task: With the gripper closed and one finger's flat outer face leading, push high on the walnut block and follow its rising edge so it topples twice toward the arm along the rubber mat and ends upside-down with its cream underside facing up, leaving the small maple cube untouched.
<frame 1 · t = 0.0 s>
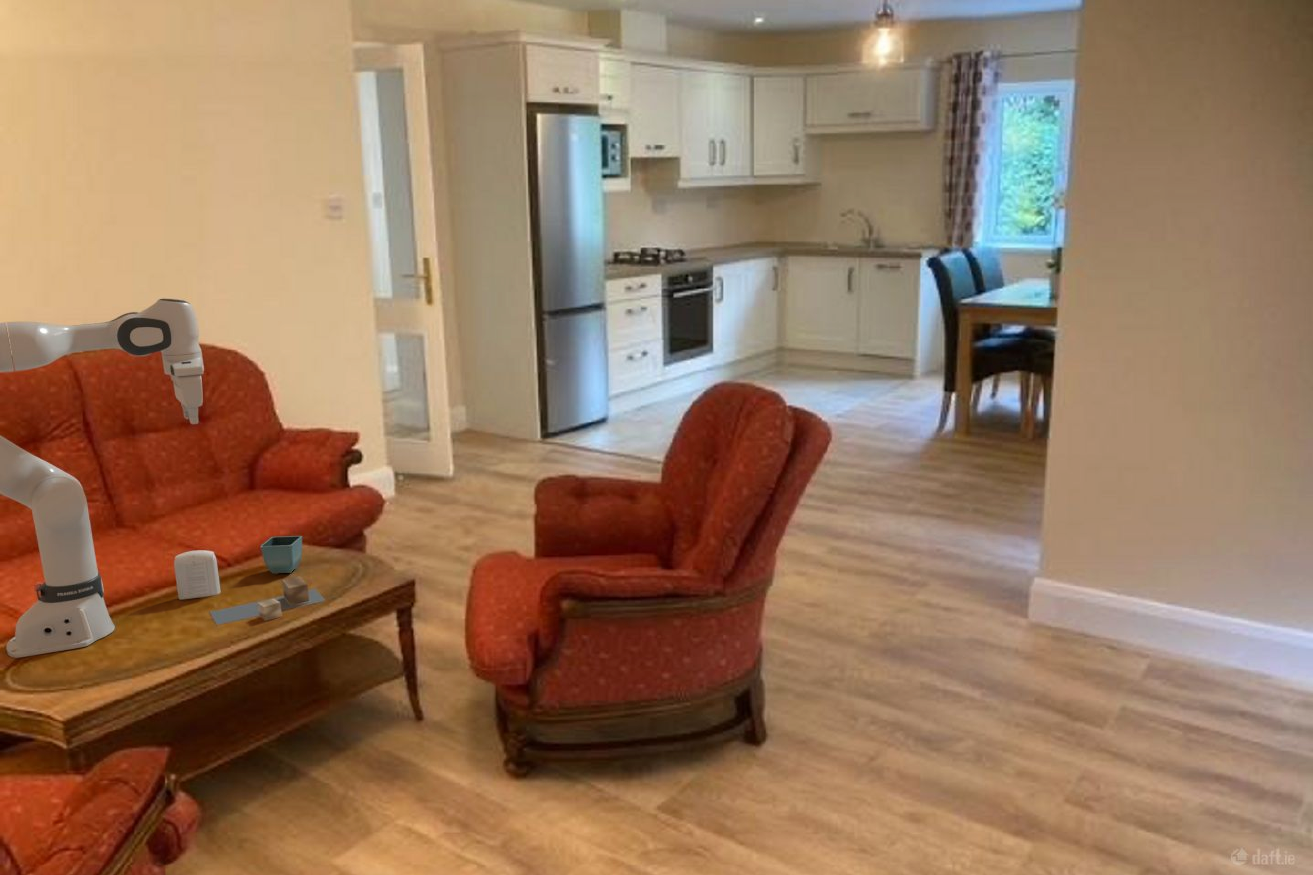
hand: (191, 421, 252), 48 cm above the table, fingers open, 8 cm apart
flower pot: (285, 572, 287), on the table
white upright rounded block: (200, 596, 270), on the table
mat: (268, 607, 259), on the table
walnut block: (296, 599, 262), resting on mat
maple cube: (270, 618, 252), on the table
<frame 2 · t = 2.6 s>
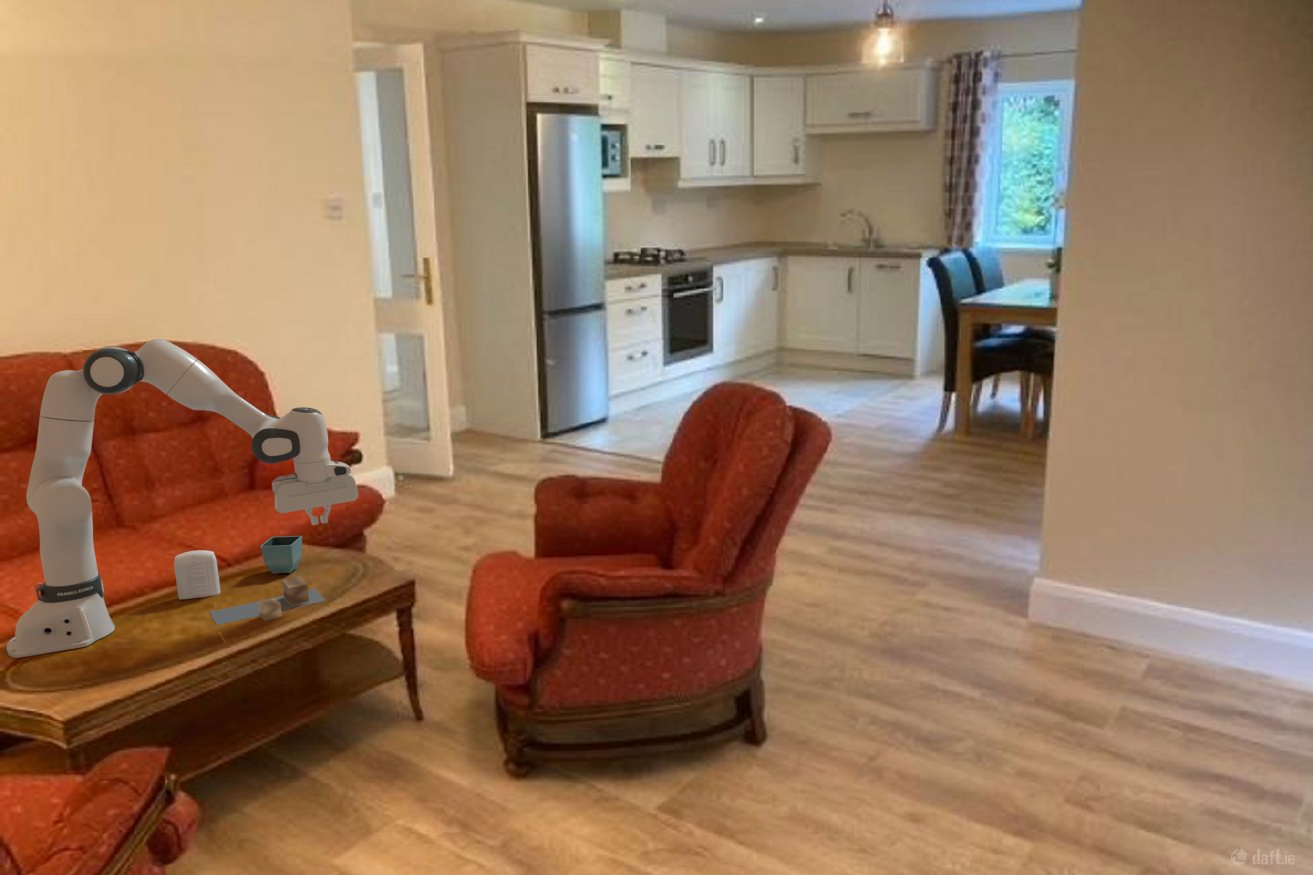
hand: (319, 523, 263), 19 cm above the table, fingers closed
nothing on the table moved.
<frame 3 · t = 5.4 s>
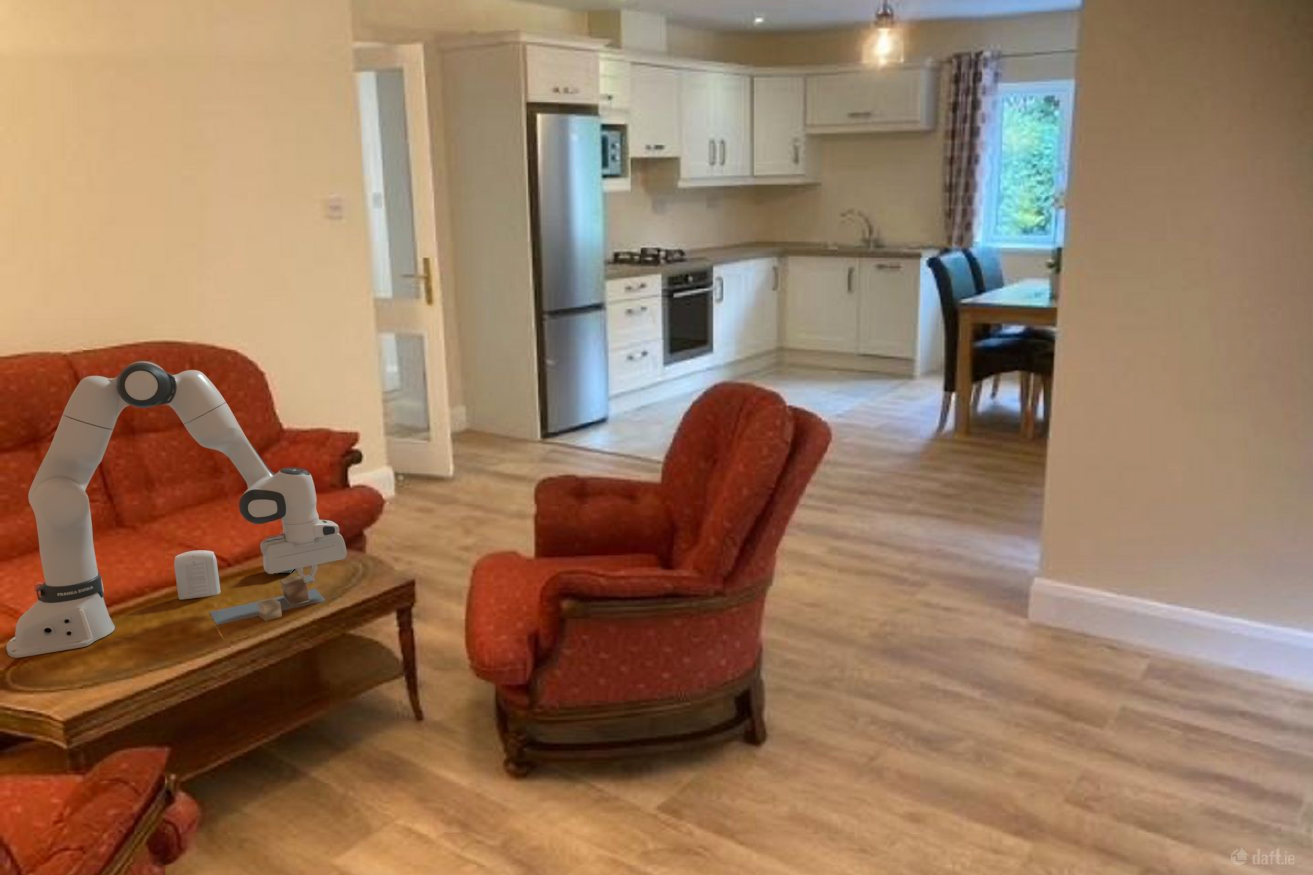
hand: (308, 582, 263), 4 cm above the table, fingers closed
walnut block: (296, 599, 262), resting on mat, touching gripper
everything else where it was.
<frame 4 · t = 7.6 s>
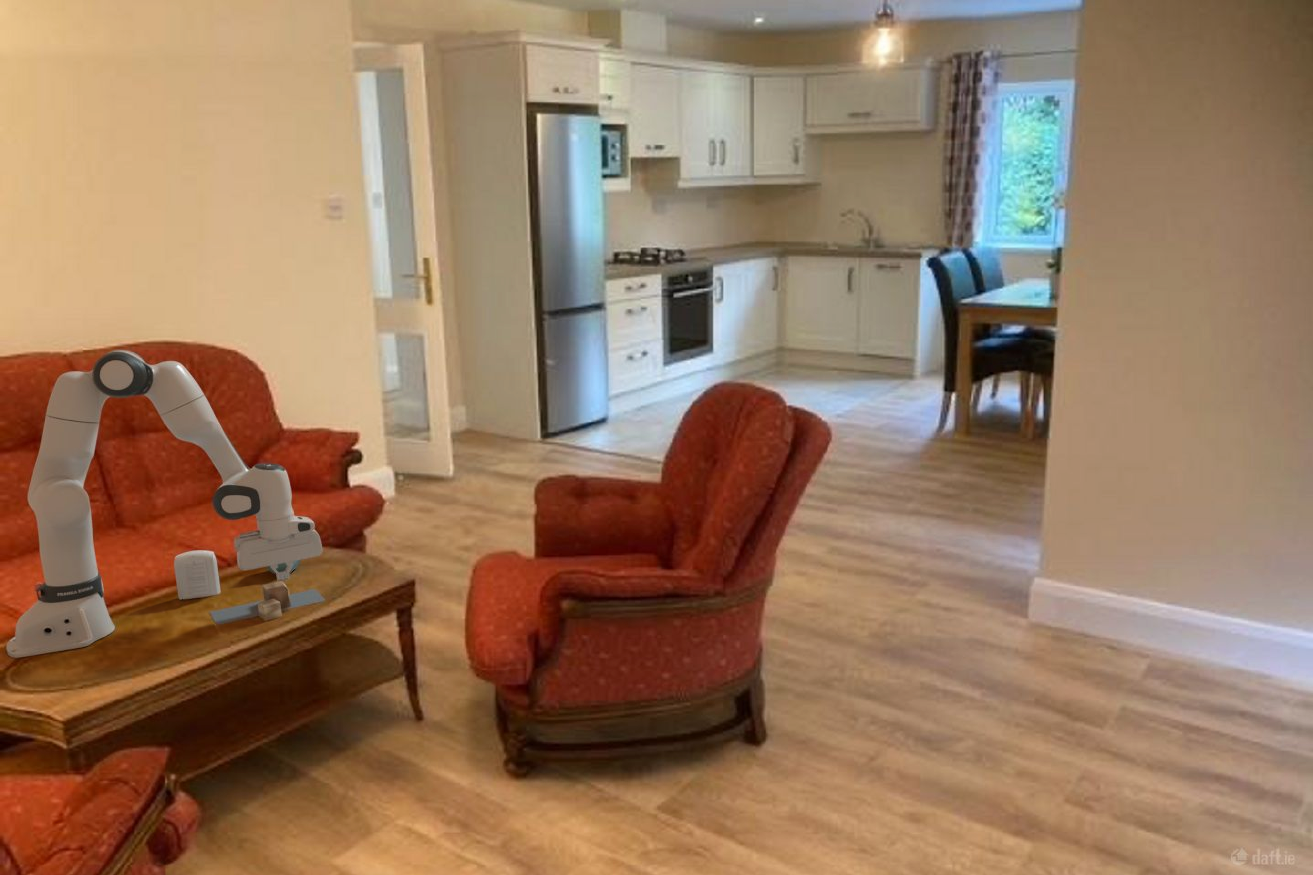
hand: (283, 579, 260), 6 cm above the table, fingers closed
walnut block: (286, 593, 261), point 3 cm above the table, tilted 90°, touching mat
everything else where it was.
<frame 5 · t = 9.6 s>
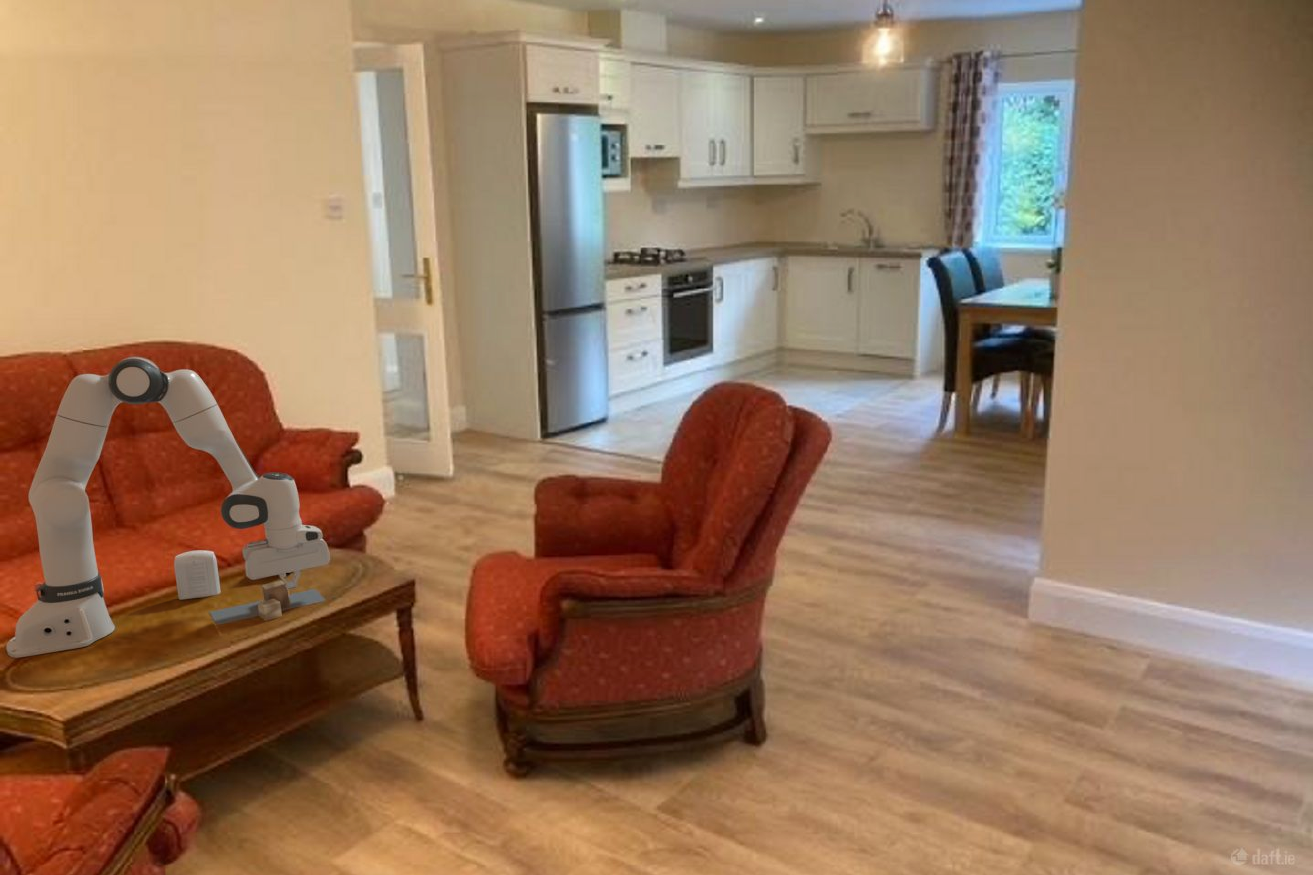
hand: (291, 588, 261), 4 cm above the table, fingers closed
walnut block: (286, 593, 261), point 3 cm above the table, tilted 91°, touching gripper, mat
everything else where it was.
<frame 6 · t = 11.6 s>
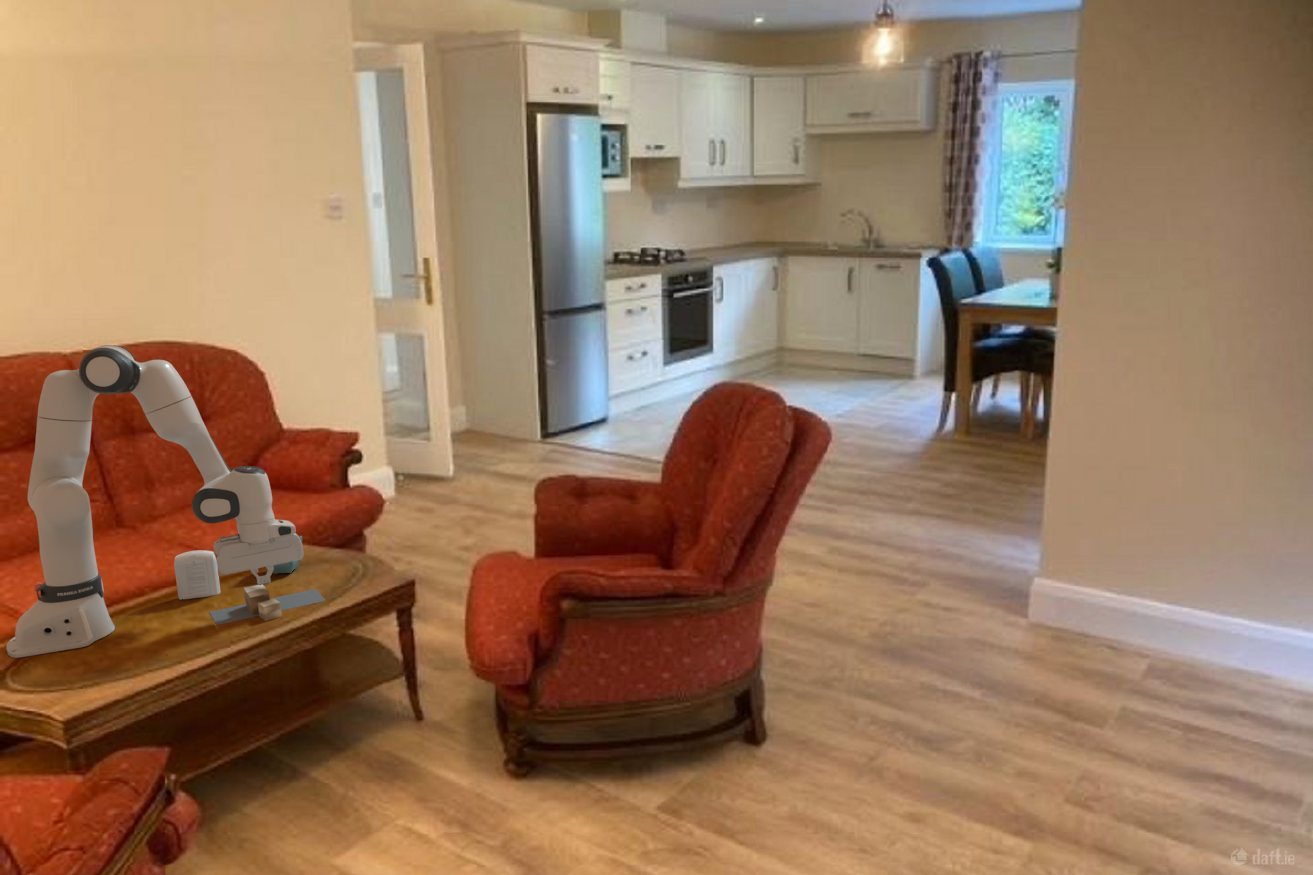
hand: (264, 583, 257), 6 cm above the table, fingers closed
walnut block: (256, 590, 257), point 5 cm above the table, tilted 180°, touching mat
everything else where it was.
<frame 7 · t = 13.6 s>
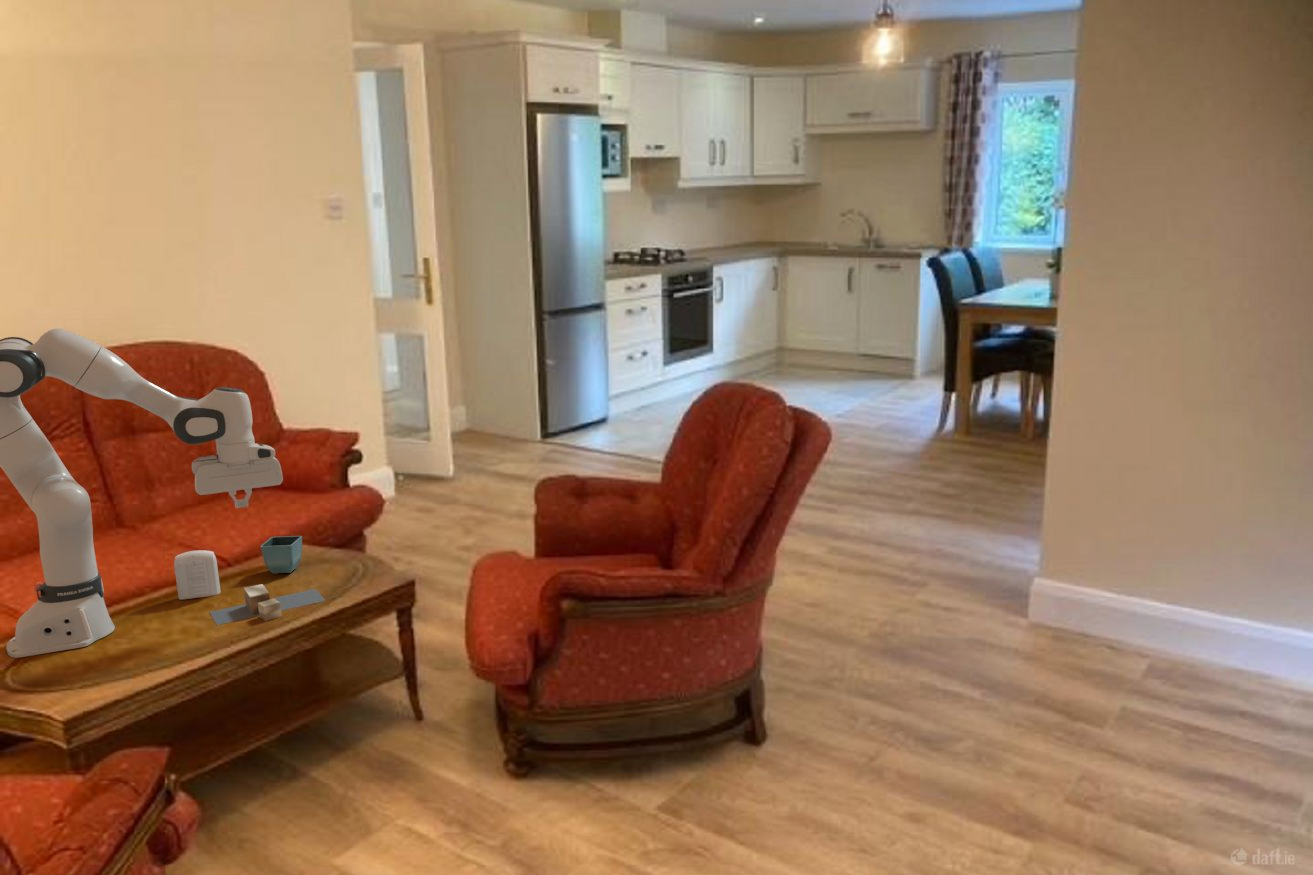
hand: (241, 506, 255), 26 cm above the table, fingers closed
nothing on the table moved.
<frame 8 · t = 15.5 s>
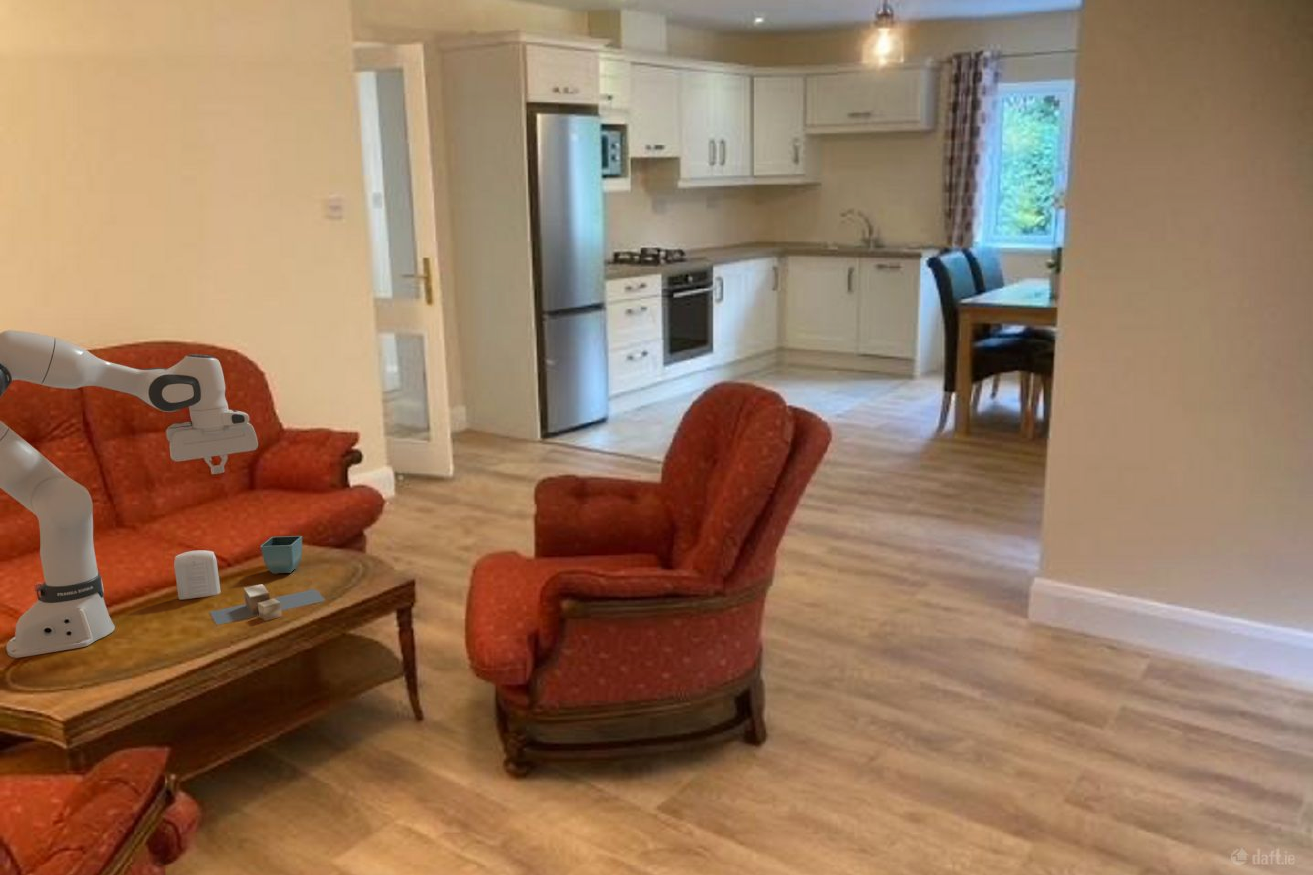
hand: (218, 472, 257), 34 cm above the table, fingers closed
nothing on the table moved.
at the end: walnut block tilted 180°; walnut block inside the target area (0.7 cm from its centre), point 5.1 cm above the table; maple cube moved 0.1 cm from its start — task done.
